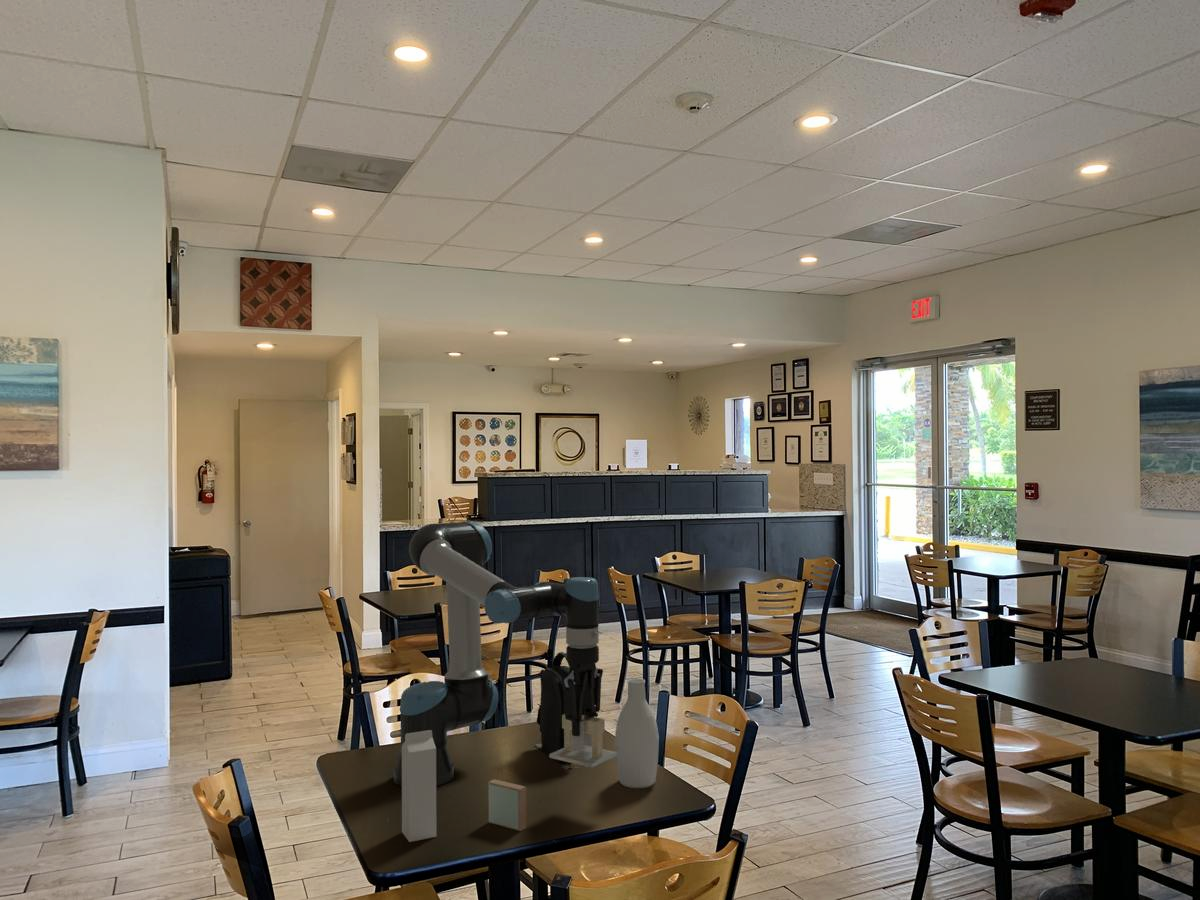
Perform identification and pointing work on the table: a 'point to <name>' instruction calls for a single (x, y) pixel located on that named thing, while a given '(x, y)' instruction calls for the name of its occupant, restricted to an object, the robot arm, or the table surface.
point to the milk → (419, 786)
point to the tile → (507, 804)
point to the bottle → (636, 739)
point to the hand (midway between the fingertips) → (583, 747)
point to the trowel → (589, 754)
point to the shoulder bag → (553, 708)
